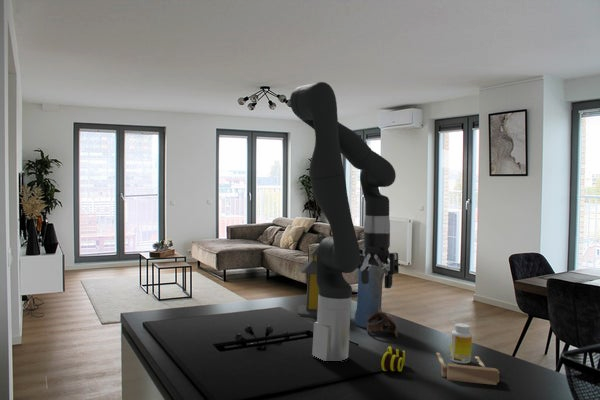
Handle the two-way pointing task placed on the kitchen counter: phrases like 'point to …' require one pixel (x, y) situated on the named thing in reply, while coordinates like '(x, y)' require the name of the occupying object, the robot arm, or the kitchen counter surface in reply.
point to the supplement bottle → (461, 344)
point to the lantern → (311, 286)
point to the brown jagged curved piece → (381, 323)
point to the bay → (469, 372)
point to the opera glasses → (393, 360)
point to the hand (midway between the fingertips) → (376, 285)
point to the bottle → (369, 296)
